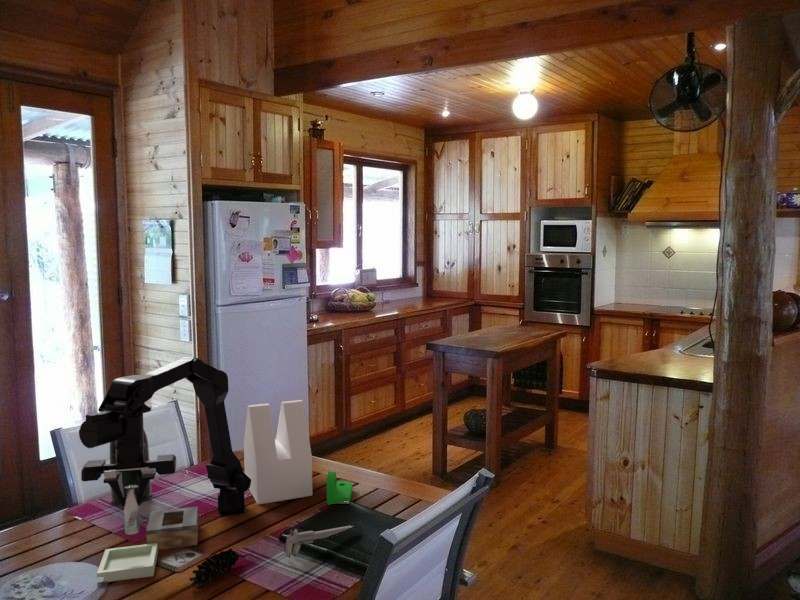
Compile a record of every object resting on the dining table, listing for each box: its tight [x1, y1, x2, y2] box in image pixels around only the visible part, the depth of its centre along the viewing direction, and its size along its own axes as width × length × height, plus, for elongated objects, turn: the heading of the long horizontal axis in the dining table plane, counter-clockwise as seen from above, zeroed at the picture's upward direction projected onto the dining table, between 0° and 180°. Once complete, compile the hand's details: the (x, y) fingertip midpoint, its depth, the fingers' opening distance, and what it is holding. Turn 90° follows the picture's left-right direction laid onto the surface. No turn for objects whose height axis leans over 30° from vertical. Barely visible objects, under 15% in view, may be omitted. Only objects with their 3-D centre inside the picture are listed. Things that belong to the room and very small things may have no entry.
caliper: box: [285, 524, 354, 559], centre depth 151 cm, size 20×1×6 cm, turn 134°
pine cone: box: [188, 547, 252, 589], centre depth 139 cm, size 18×5×5 cm
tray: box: [96, 543, 159, 583], centre depth 141 cm, size 11×11×2 cm
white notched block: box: [243, 399, 313, 505], centre depth 186 cm, size 19×15×25 cm
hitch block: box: [145, 505, 199, 551], centre depth 155 cm, size 11×11×5 cm
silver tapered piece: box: [123, 485, 141, 536], centre depth 142 cm, size 6×3×10 cm, turn 20°
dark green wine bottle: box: [108, 404, 152, 505], centre depth 178 cm, size 10×10×33 cm
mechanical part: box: [326, 471, 353, 506], centre depth 181 cm, size 12×6×8 cm, turn 178°
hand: (131, 505), depth 142 cm, fingers closed on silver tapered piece, 3 cm apart
